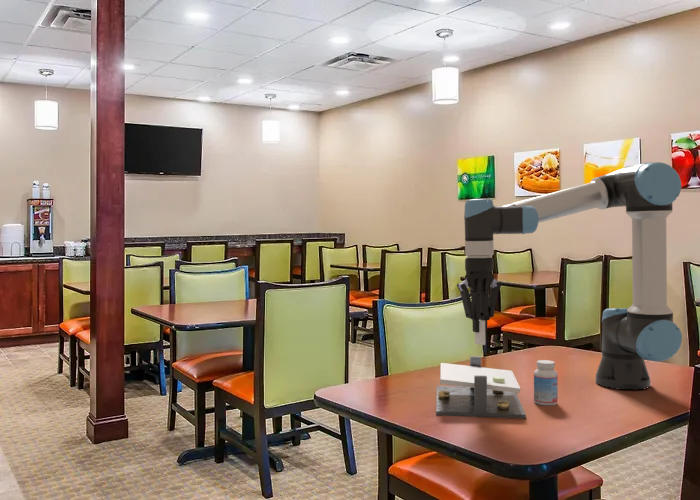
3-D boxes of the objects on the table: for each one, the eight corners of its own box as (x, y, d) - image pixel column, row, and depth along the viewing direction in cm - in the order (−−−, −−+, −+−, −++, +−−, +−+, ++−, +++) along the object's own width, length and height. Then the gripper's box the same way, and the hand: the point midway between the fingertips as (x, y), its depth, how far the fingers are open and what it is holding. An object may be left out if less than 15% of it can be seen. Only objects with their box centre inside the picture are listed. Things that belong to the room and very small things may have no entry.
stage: (511, 374, 182) (511, 367, 182) (520, 394, 160) (521, 386, 160) (440, 366, 185) (441, 359, 185) (440, 384, 163) (440, 377, 163)
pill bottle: (558, 407, 169) (559, 364, 168) (534, 405, 170) (535, 363, 169) (556, 400, 175) (556, 359, 174) (532, 399, 176) (533, 359, 175)
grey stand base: (514, 391, 184) (514, 357, 184) (525, 418, 158) (526, 378, 158) (437, 389, 187) (437, 355, 187) (436, 415, 162) (436, 375, 161)
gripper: (491, 255, 178) (492, 339, 179) (450, 257, 173) (451, 343, 174) (507, 256, 171) (508, 344, 172) (465, 258, 166) (466, 348, 167)
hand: (480, 344), depth 173 cm, fingers closed
